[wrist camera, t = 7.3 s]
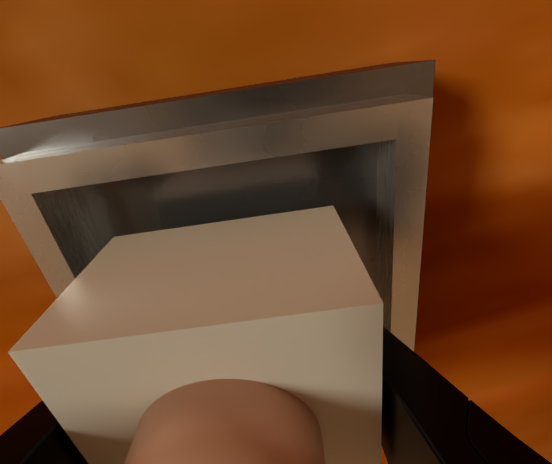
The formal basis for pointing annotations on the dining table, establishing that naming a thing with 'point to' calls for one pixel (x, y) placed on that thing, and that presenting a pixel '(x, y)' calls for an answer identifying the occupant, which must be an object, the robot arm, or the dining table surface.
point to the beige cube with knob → (217, 347)
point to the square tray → (235, 170)
